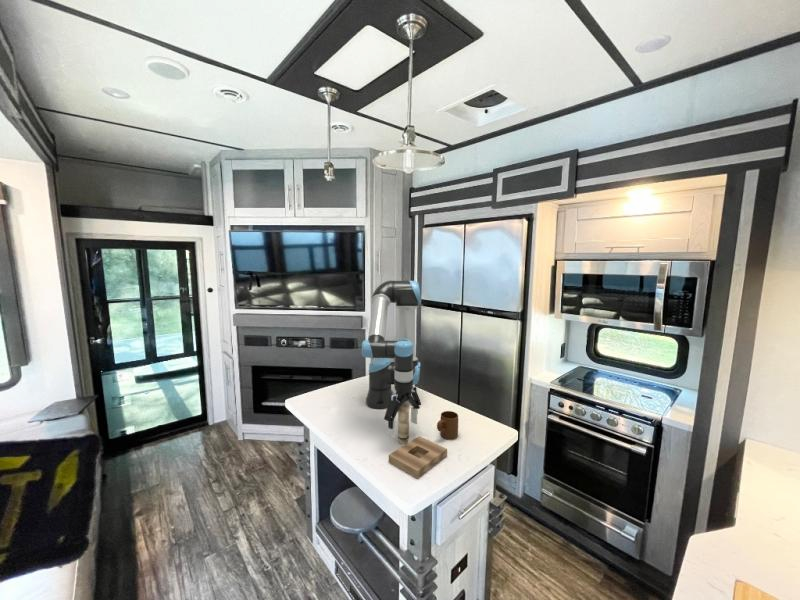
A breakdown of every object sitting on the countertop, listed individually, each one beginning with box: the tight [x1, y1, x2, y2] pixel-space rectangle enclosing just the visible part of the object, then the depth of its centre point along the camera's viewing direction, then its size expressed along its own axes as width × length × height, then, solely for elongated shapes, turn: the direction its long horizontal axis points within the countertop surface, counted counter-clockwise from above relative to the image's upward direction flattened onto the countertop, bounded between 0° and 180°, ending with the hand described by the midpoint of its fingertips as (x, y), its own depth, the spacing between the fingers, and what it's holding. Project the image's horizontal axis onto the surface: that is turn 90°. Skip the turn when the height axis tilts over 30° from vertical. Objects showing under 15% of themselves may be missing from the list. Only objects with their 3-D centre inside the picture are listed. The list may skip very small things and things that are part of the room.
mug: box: [436, 410, 459, 441], centre depth 139 cm, size 12×8×9 cm, turn 136°
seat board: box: [388, 435, 448, 480], centre depth 124 cm, size 18×14×3 cm
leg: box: [397, 402, 410, 446], centre depth 135 cm, size 5×5×16 cm
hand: (403, 429), depth 135 cm, fingers open, 13 cm apart
